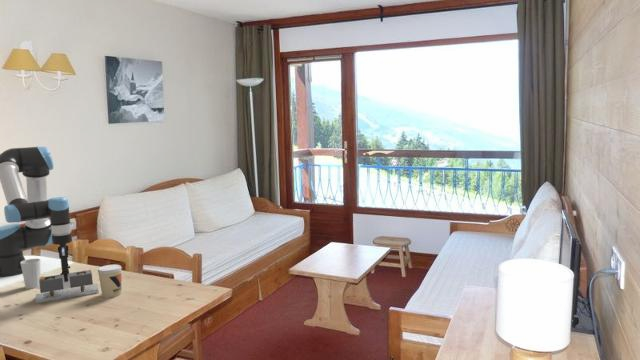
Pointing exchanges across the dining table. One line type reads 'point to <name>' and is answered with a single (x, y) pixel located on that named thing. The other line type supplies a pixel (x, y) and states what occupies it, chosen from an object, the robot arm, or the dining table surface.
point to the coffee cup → (110, 280)
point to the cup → (31, 272)
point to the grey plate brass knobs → (66, 293)
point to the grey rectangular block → (57, 281)
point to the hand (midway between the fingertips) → (66, 286)
